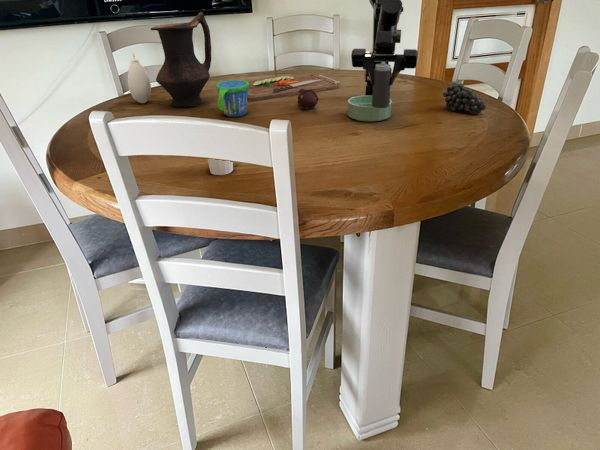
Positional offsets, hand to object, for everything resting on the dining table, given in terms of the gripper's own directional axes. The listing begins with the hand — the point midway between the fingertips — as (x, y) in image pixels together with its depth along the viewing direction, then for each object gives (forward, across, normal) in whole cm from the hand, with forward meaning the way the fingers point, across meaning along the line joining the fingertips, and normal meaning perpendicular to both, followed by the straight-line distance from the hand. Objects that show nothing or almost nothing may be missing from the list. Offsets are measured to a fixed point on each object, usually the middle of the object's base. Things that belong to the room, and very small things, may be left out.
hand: (381, 84), depth 132 cm
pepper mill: (+4, 0, +6) cm, 7 cm away
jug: (-4, -69, +23) cm, 73 cm away
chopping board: (-23, -42, +43) cm, 65 cm away
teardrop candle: (-3, -88, +23) cm, 91 cm away
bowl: (0, -4, +18) cm, 19 cm away
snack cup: (+4, -48, +16) cm, 51 cm away
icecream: (-3, -25, +22) cm, 34 cm away
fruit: (-6, +26, +25) cm, 37 cm away
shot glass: (+36, -36, -17) cm, 54 cm away
